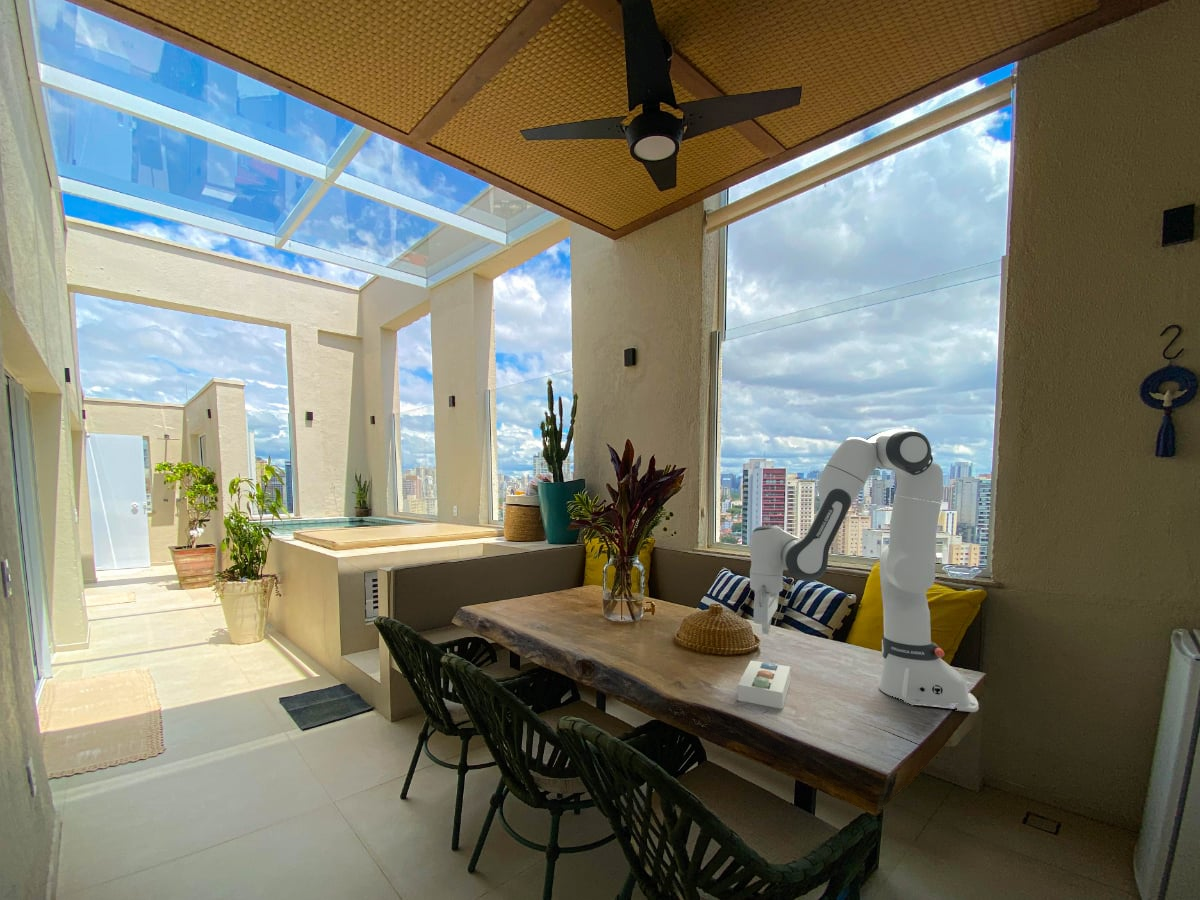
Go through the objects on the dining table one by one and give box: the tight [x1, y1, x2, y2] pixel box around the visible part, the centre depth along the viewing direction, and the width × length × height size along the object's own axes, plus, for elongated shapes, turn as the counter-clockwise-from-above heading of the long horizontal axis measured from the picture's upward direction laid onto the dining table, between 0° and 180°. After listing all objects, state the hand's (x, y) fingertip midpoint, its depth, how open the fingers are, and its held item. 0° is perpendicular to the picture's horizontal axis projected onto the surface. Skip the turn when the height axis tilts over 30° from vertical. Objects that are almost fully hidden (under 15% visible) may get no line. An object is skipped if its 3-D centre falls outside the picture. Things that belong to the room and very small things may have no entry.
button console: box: [737, 660, 792, 710], centre depth 139 cm, size 11×20×4 cm, turn 154°
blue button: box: [762, 661, 776, 678], centre depth 145 cm, size 4×4×3 cm
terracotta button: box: [758, 670, 772, 687], centre depth 139 cm, size 4×4×3 cm
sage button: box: [754, 677, 769, 689], centre depth 133 cm, size 4×4×3 cm
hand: (766, 632), depth 143 cm, fingers closed
